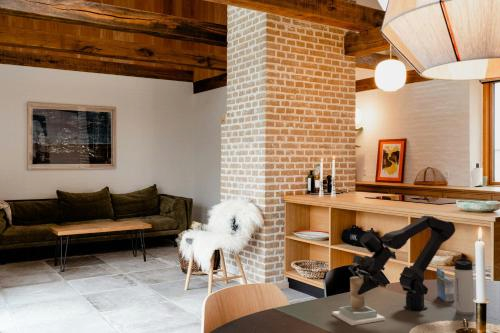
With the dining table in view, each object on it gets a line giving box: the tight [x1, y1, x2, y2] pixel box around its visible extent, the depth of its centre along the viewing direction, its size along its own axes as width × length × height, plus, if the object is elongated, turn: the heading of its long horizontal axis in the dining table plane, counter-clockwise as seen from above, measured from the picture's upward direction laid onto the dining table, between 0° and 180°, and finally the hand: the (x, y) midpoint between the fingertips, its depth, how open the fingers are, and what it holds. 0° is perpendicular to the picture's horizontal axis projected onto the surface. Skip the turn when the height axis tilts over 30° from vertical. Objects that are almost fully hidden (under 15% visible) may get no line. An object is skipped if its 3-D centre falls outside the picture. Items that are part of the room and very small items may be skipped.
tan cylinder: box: [349, 276, 366, 312], centre depth 179 cm, size 5×5×12 cm
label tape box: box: [436, 267, 455, 303], centre depth 199 cm, size 9×4×12 cm, turn 179°
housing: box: [331, 305, 386, 326], centre depth 179 cm, size 14×14×3 cm
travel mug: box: [454, 257, 475, 316], centre depth 180 cm, size 6×7×20 cm
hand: (354, 292), depth 178 cm, fingers closed on tan cylinder, 5 cm apart
